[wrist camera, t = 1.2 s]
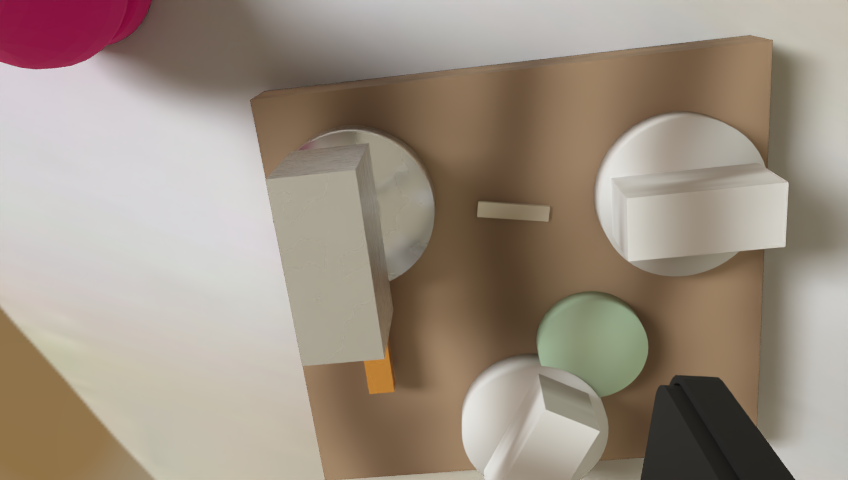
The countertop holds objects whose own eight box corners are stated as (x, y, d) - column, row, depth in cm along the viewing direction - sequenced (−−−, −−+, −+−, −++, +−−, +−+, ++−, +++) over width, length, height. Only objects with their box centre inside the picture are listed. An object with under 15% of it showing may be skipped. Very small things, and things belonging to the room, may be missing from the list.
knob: (266, 134, 32) (206, 185, 24) (425, 116, 31) (415, 163, 24) (314, 383, 36) (276, 494, 28) (455, 371, 36) (456, 481, 28)
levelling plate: (749, 35, 32) (824, 51, 26) (737, 428, 39) (794, 520, 33) (264, 91, 34) (218, 119, 28) (334, 458, 41) (311, 551, 34)
